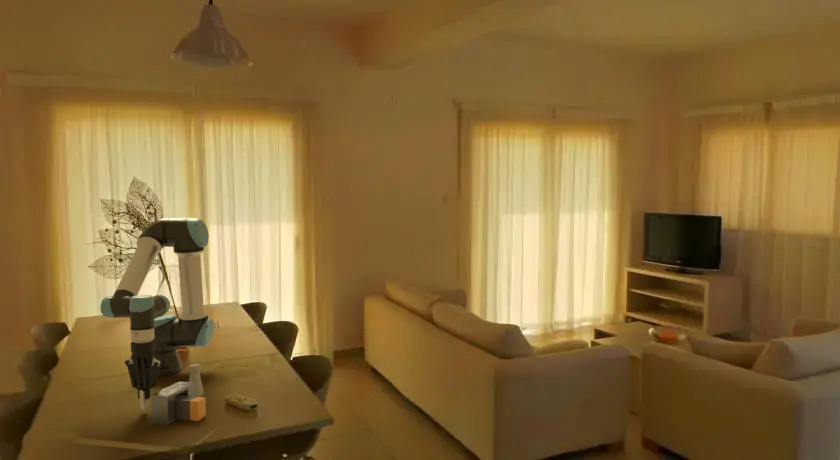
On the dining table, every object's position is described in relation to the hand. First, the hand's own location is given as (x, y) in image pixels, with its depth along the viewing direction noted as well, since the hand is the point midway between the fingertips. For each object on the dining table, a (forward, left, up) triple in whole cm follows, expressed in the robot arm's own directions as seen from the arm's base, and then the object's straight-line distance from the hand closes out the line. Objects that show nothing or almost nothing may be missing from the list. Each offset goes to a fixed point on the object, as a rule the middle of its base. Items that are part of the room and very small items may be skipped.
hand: (144, 407), depth 208 cm
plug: (+15, 0, -2) cm, 15 cm away
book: (-35, +104, -2) cm, 110 cm away
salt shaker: (+9, +17, -2) cm, 19 cm away
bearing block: (+12, 0, -2) cm, 12 cm away
